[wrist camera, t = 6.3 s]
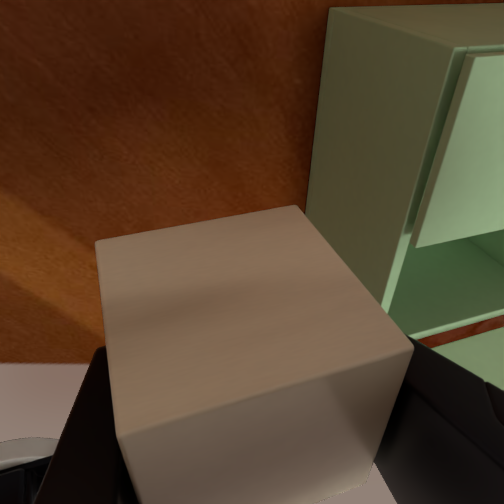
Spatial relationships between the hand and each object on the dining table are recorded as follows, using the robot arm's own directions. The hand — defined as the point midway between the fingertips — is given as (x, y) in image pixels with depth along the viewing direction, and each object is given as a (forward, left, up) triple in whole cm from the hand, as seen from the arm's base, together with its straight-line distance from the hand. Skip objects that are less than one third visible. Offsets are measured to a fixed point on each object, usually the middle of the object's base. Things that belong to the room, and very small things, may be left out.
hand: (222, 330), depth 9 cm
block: (0, 0, -1) cm, 1 cm away
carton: (-2, -14, -12) cm, 18 cm away
